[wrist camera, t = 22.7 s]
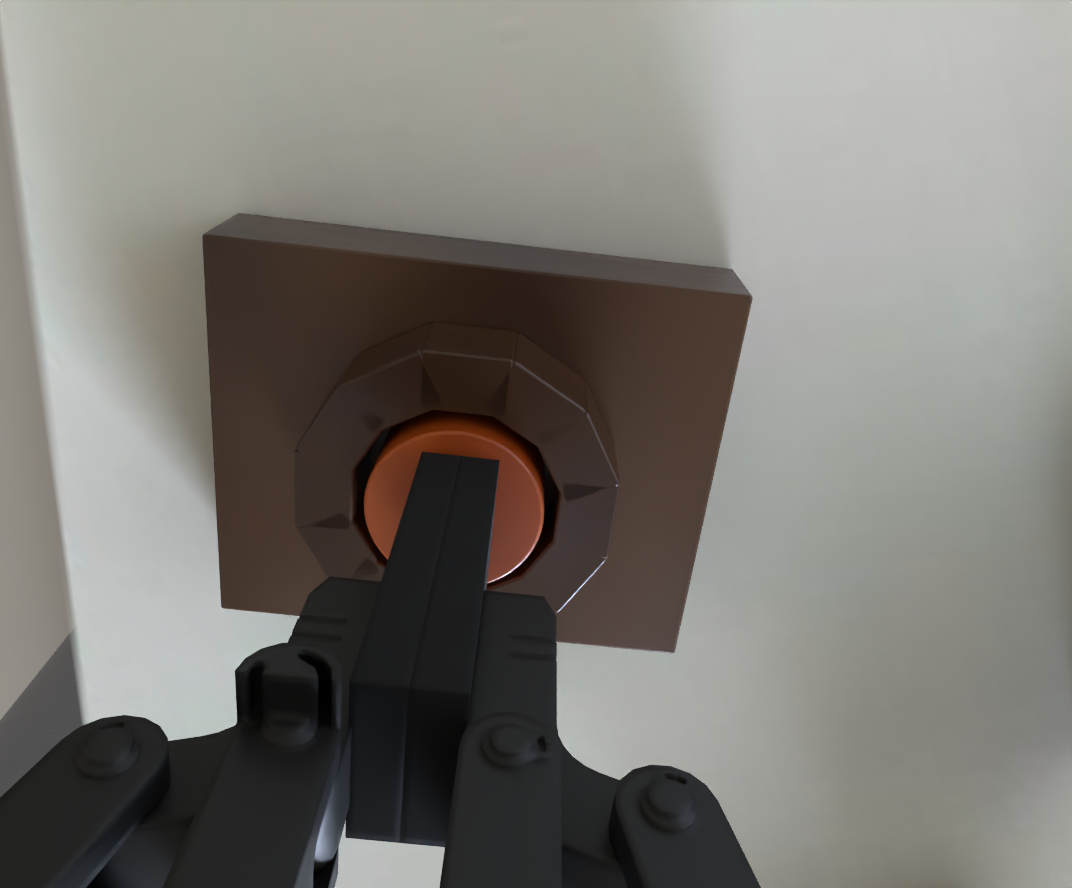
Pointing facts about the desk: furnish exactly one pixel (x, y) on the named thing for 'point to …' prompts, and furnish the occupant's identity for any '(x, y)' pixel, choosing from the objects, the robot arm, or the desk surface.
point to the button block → (467, 406)
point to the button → (473, 438)
